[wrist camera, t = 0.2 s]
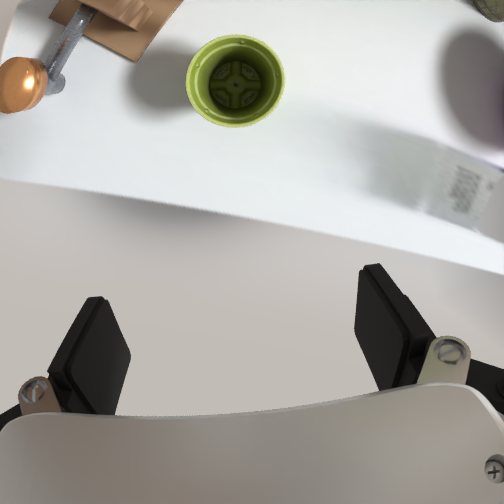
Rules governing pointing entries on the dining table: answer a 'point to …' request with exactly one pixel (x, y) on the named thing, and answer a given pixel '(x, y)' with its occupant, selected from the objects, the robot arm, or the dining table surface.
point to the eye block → (121, 22)
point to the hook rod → (41, 68)
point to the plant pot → (235, 81)
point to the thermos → (491, 9)
